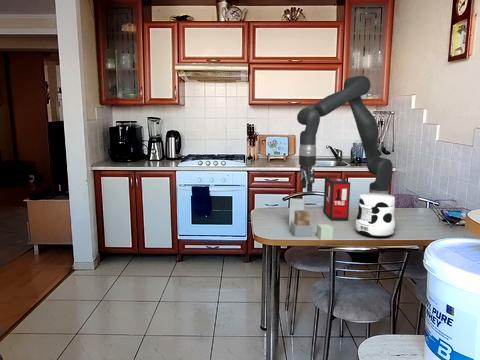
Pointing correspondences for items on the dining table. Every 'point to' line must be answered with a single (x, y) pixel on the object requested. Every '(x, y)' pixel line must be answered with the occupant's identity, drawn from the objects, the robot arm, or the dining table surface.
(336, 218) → the cleaning product box
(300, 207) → the supplement box
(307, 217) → the tan wooden cube
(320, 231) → the sage green block
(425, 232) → the dining table surface
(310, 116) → the robot arm
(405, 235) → the dining table surface
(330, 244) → the dining table surface
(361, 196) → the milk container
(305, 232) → the grey base block
